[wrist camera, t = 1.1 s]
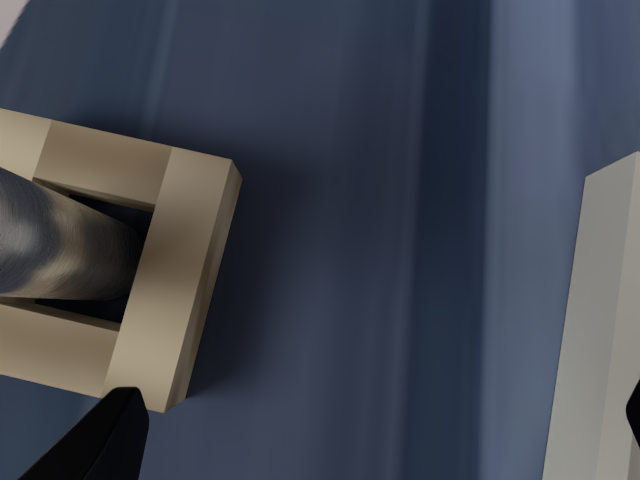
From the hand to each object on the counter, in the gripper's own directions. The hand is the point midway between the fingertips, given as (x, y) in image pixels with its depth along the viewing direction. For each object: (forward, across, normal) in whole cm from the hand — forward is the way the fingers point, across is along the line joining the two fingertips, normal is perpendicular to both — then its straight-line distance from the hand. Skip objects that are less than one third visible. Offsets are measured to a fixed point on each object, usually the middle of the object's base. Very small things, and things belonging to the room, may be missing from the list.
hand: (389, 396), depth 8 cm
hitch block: (+13, +12, +6) cm, 19 cm away
